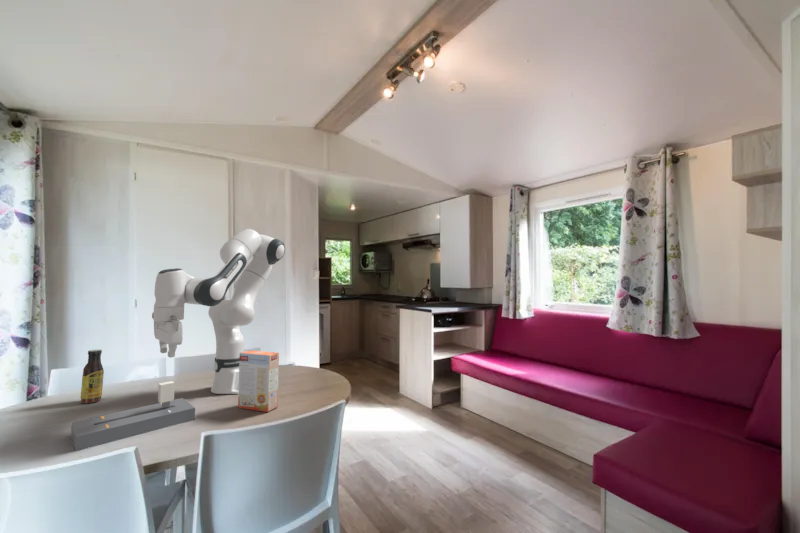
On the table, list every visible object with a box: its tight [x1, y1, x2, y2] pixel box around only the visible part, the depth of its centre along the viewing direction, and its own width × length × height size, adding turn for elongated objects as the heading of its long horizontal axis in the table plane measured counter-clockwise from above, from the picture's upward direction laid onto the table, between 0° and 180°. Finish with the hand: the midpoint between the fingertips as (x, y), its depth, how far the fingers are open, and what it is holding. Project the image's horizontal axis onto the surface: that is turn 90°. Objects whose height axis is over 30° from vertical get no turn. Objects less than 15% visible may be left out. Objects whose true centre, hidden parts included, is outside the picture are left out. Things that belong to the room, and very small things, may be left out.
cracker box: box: [237, 350, 280, 413], centre depth 130 cm, size 14×6×21 cm, turn 71°
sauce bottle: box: [80, 349, 105, 404], centre depth 134 cm, size 6×6×20 cm
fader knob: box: [157, 380, 175, 408], centre depth 118 cm, size 4×3×8 cm
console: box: [70, 397, 196, 452], centre depth 112 cm, size 30×14×4 cm, turn 138°
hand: (167, 354), depth 118 cm, fingers open, 8 cm apart
